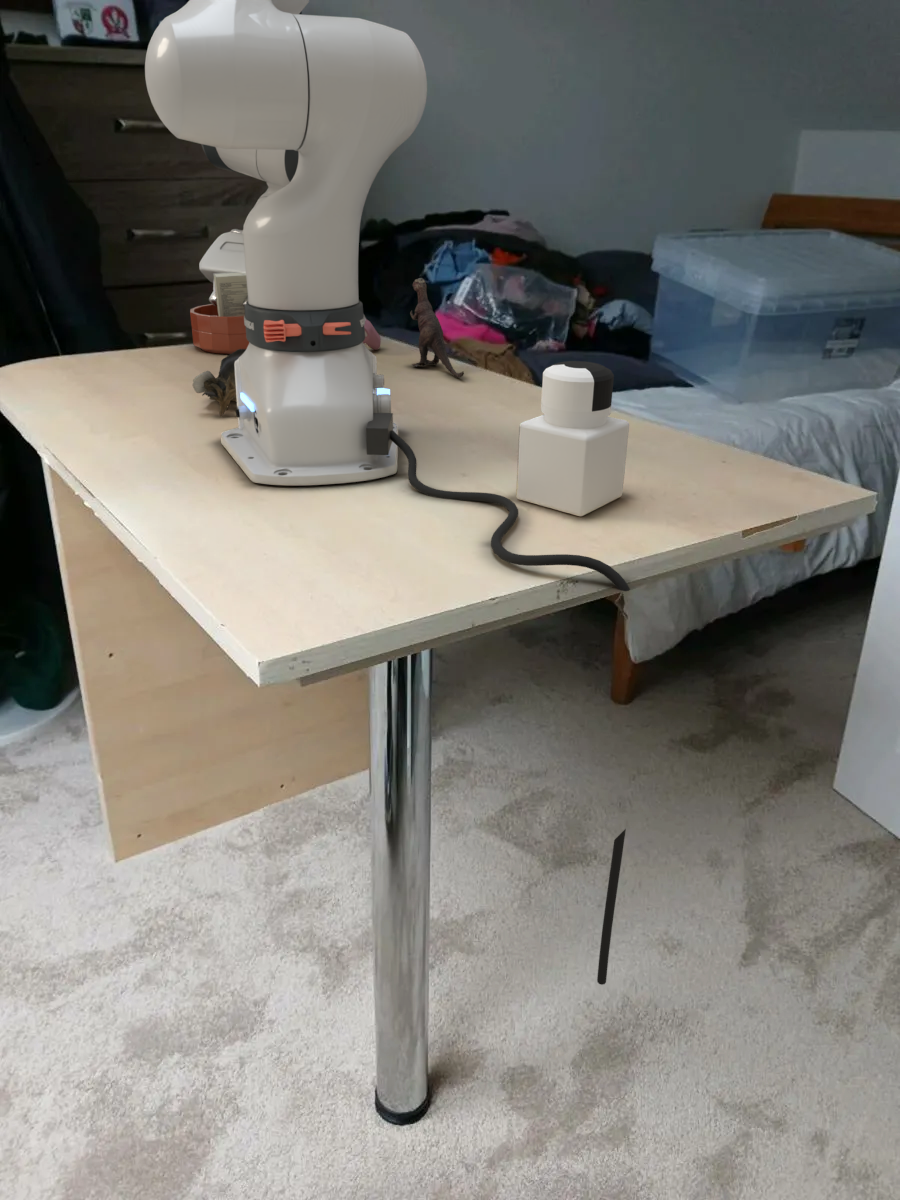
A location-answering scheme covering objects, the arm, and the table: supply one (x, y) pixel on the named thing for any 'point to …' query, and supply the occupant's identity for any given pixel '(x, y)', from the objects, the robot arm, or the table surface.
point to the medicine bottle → (573, 442)
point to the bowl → (217, 330)
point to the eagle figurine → (220, 382)
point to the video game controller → (371, 336)
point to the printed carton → (230, 293)
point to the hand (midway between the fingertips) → (231, 306)
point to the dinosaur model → (430, 331)
